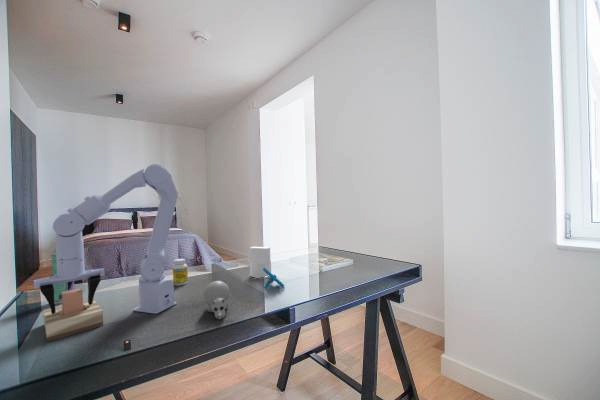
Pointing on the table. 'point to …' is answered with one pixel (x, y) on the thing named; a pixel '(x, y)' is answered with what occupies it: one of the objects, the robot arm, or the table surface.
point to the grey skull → (217, 298)
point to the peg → (72, 301)
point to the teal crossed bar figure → (271, 279)
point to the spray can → (62, 286)
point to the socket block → (72, 321)
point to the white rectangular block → (259, 261)
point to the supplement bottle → (180, 272)
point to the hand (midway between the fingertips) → (72, 307)
